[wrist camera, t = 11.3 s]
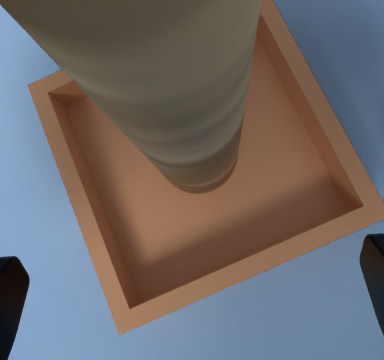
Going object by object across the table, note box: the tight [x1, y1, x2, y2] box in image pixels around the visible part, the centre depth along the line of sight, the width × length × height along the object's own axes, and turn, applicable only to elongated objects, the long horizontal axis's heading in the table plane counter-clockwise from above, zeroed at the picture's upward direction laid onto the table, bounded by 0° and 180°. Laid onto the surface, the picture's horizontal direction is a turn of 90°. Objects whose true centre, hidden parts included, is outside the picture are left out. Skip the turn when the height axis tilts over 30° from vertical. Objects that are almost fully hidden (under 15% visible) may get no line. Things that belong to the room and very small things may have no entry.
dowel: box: [0, 0, 262, 194], centre depth 10 cm, size 4×4×14 cm
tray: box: [28, 0, 384, 335], centre depth 17 cm, size 13×13×2 cm
